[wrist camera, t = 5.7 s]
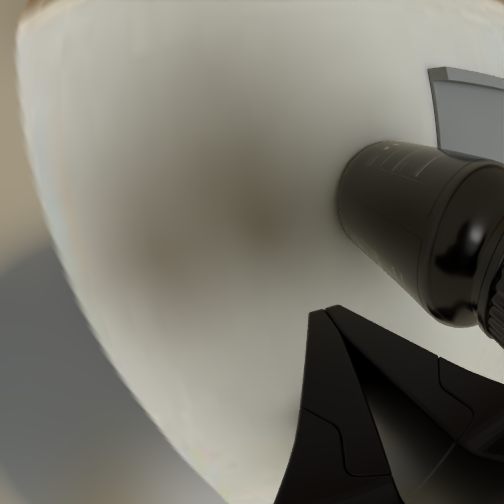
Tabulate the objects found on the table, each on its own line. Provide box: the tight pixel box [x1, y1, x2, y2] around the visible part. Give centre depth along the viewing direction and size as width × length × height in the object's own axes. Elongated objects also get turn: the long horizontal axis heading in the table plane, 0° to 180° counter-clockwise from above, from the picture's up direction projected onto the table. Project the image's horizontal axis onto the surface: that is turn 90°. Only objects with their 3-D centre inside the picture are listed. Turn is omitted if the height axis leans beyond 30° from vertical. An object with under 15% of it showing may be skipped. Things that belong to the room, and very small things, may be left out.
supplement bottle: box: [338, 141, 504, 349], centre depth 11 cm, size 7×7×12 cm
